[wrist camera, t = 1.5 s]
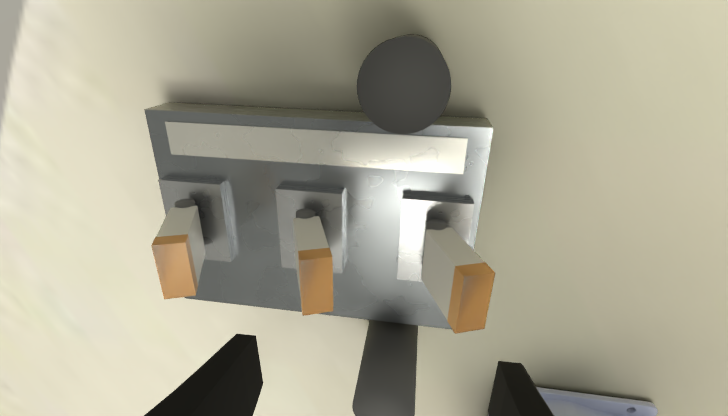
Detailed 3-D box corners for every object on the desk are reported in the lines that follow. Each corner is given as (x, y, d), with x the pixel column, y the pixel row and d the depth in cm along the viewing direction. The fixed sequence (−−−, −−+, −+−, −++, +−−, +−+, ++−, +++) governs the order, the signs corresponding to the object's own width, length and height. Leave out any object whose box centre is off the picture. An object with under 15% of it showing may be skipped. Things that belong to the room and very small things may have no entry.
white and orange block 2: (445, 217, 18) (495, 270, 14) (438, 269, 19) (484, 330, 15) (419, 220, 18) (464, 274, 14) (414, 272, 19) (454, 335, 15)
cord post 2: (419, 308, 23) (416, 392, 18) (415, 347, 25) (412, 436, 19) (370, 303, 24) (352, 383, 18) (368, 341, 25) (352, 426, 20)
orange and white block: (199, 197, 19) (184, 240, 16) (208, 246, 21) (196, 297, 17) (172, 199, 19) (150, 243, 15) (182, 248, 20) (164, 301, 16)
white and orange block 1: (317, 207, 19) (332, 254, 15) (319, 257, 20) (333, 313, 16) (291, 209, 18) (299, 258, 15) (294, 259, 20) (302, 317, 16)
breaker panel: (486, 118, 18) (495, 131, 16) (458, 306, 23) (461, 338, 21) (169, 102, 20) (136, 112, 18) (202, 278, 25) (178, 304, 23)
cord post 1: (447, 35, 17) (456, 38, 12) (440, 104, 18) (445, 136, 13) (379, 33, 17) (357, 35, 12) (376, 102, 19) (356, 131, 13)
